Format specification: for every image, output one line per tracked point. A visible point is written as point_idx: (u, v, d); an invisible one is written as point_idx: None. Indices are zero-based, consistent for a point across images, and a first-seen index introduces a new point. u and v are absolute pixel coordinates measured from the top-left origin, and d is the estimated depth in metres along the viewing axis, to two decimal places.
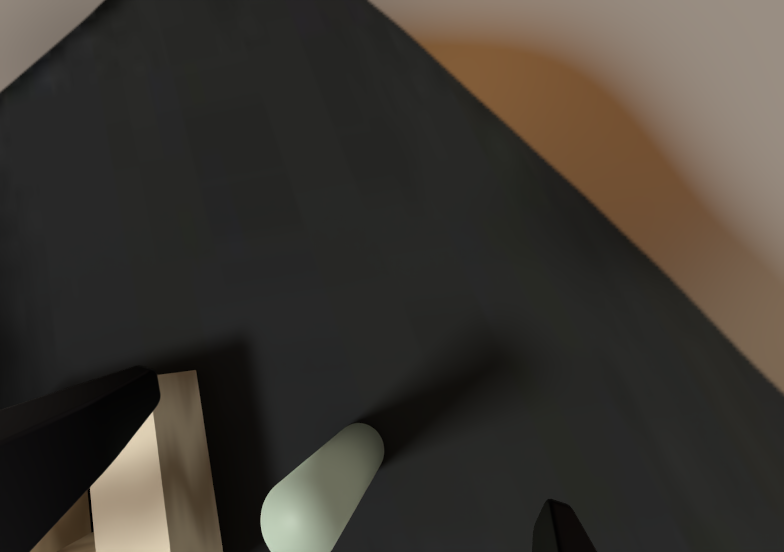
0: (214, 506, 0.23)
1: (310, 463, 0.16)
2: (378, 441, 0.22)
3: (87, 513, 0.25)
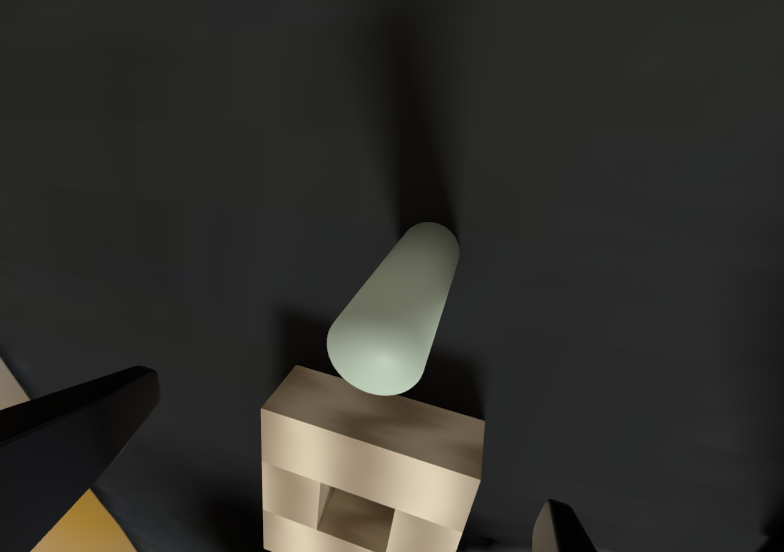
0: (421, 404, 0.23)
1: None
2: (423, 226, 0.18)
3: None
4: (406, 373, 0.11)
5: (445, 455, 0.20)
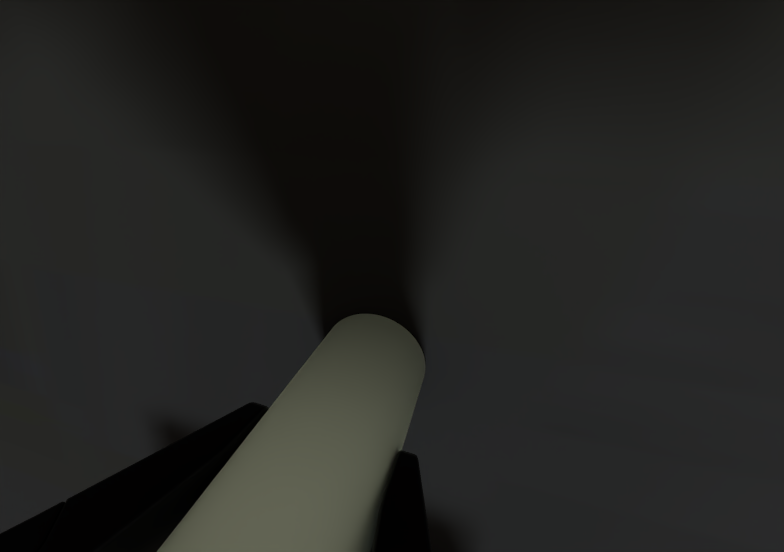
0: None
1: None
2: (356, 329, 0.10)
3: None
4: None
5: None
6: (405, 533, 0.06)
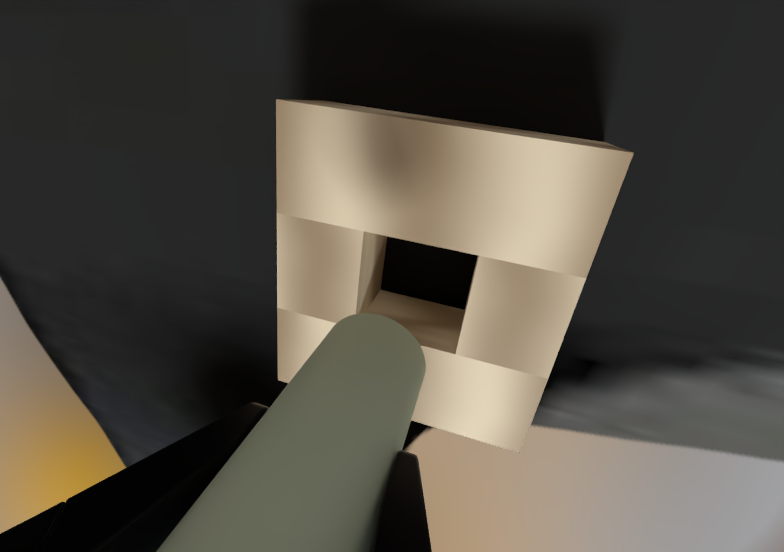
0: (508, 128, 0.16)
1: None
2: (357, 328, 0.10)
3: (440, 305, 0.20)
4: None
5: (566, 141, 0.13)
6: (405, 533, 0.06)
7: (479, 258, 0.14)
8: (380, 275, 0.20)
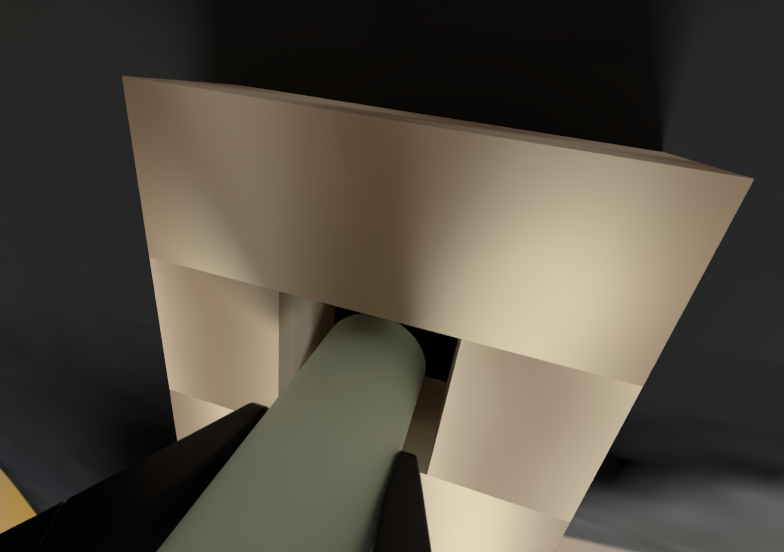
0: (511, 128, 0.10)
1: None
2: (356, 329, 0.10)
3: None
4: None
5: (616, 153, 0.07)
6: (405, 533, 0.06)
7: (462, 343, 0.09)
8: None
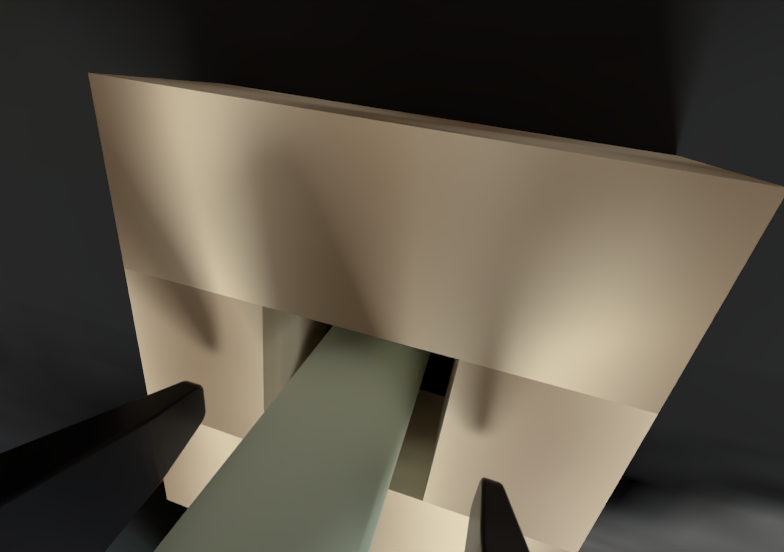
0: (513, 130, 0.09)
1: None
2: None
3: None
4: None
5: (631, 158, 0.06)
6: None
7: (460, 364, 0.08)
8: None
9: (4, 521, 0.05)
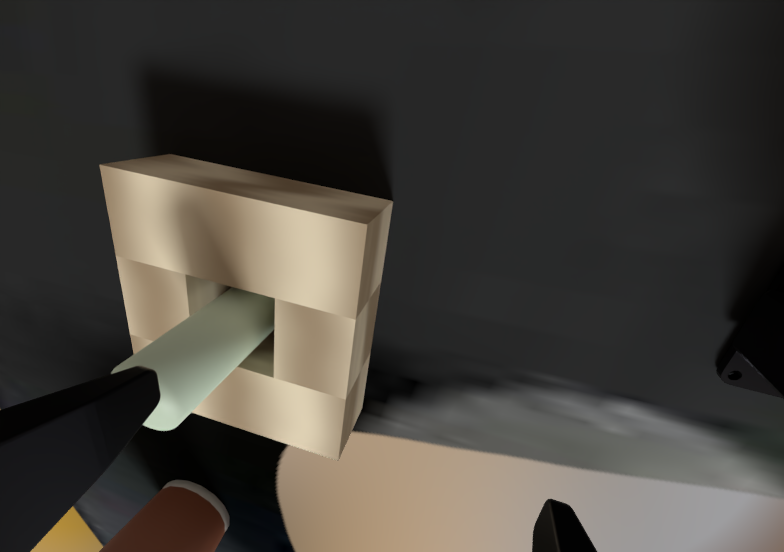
0: (317, 186, 0.19)
1: None
2: None
3: None
4: (171, 414, 0.14)
5: (329, 209, 0.15)
6: None
7: (275, 300, 0.17)
8: None
9: None
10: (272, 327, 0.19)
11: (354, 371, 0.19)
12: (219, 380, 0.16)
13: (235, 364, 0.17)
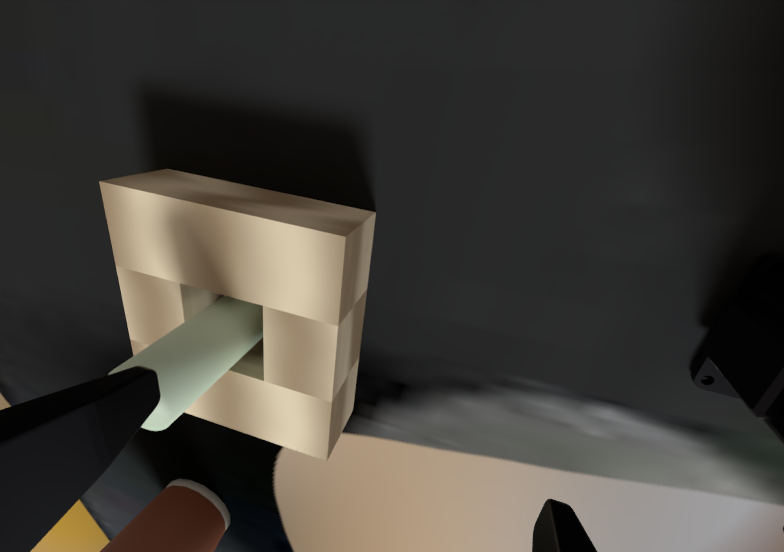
0: (304, 198, 0.19)
1: None
2: None
3: None
4: (162, 415, 0.15)
5: (311, 222, 0.16)
6: None
7: (263, 307, 0.18)
8: None
9: None
10: None
11: (340, 375, 0.20)
12: (209, 383, 0.17)
13: (225, 368, 0.18)
